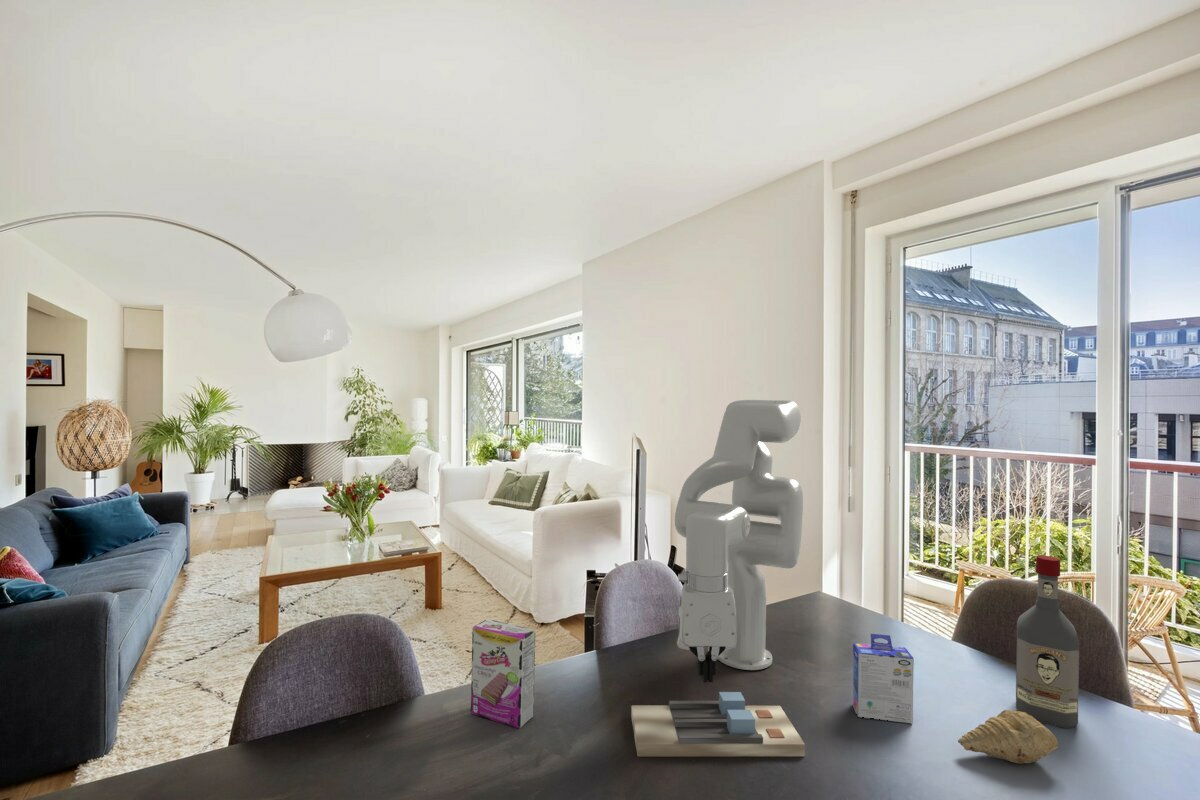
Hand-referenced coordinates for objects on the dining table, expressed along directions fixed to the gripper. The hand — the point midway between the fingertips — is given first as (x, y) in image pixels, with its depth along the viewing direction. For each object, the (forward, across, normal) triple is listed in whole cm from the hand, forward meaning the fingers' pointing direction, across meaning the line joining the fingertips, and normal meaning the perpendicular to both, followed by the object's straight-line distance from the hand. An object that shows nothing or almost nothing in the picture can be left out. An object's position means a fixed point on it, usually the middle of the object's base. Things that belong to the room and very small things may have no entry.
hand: (706, 678), depth 104 cm
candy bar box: (+8, -38, +2) cm, 38 cm away
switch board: (+8, 0, -4) cm, 9 cm away
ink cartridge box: (+9, +34, +3) cm, 36 cm away
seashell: (+9, +47, -11) cm, 49 cm away
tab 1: (+6, +4, -1) cm, 7 cm away
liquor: (+10, +66, +3) cm, 67 cm away
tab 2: (+6, +4, -7) cm, 10 cm away
